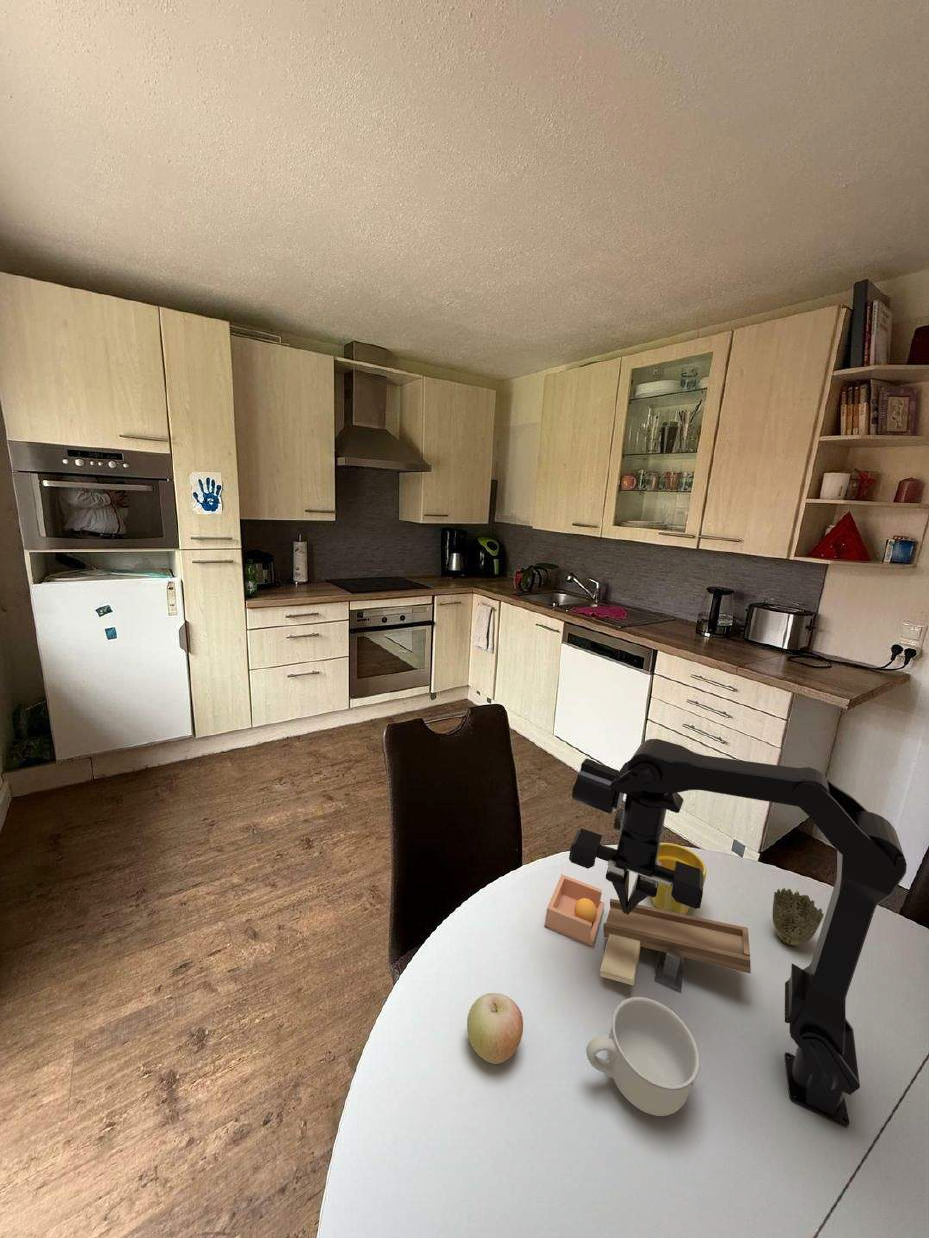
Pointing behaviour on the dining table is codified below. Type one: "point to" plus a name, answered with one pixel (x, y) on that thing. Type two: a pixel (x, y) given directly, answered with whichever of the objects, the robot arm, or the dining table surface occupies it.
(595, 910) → the ball
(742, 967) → the lever
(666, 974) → the seesaw stand
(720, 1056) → the dining table surface
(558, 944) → the dining table surface
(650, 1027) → the teacup
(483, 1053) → the fruit
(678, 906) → the plant pot
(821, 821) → the robot arm
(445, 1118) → the dining table surface
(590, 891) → the peach open tray
